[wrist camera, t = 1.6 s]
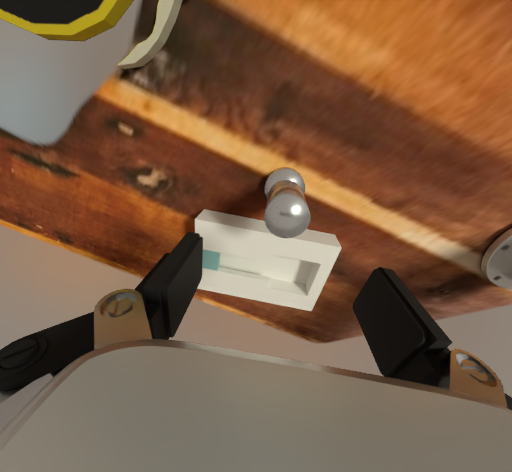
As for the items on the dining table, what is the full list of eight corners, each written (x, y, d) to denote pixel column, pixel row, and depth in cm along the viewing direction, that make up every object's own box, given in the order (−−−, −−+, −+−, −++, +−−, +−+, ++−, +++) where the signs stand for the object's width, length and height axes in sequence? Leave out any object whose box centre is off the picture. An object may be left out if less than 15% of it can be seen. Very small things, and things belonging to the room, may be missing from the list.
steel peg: (308, 171, 25) (326, 196, 16) (297, 208, 27) (307, 248, 18) (269, 163, 25) (263, 184, 16) (262, 201, 27) (253, 237, 18)
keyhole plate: (334, 234, 28) (341, 247, 25) (308, 295, 35) (311, 311, 32) (204, 209, 29) (194, 218, 26) (202, 273, 35) (194, 288, 32)
